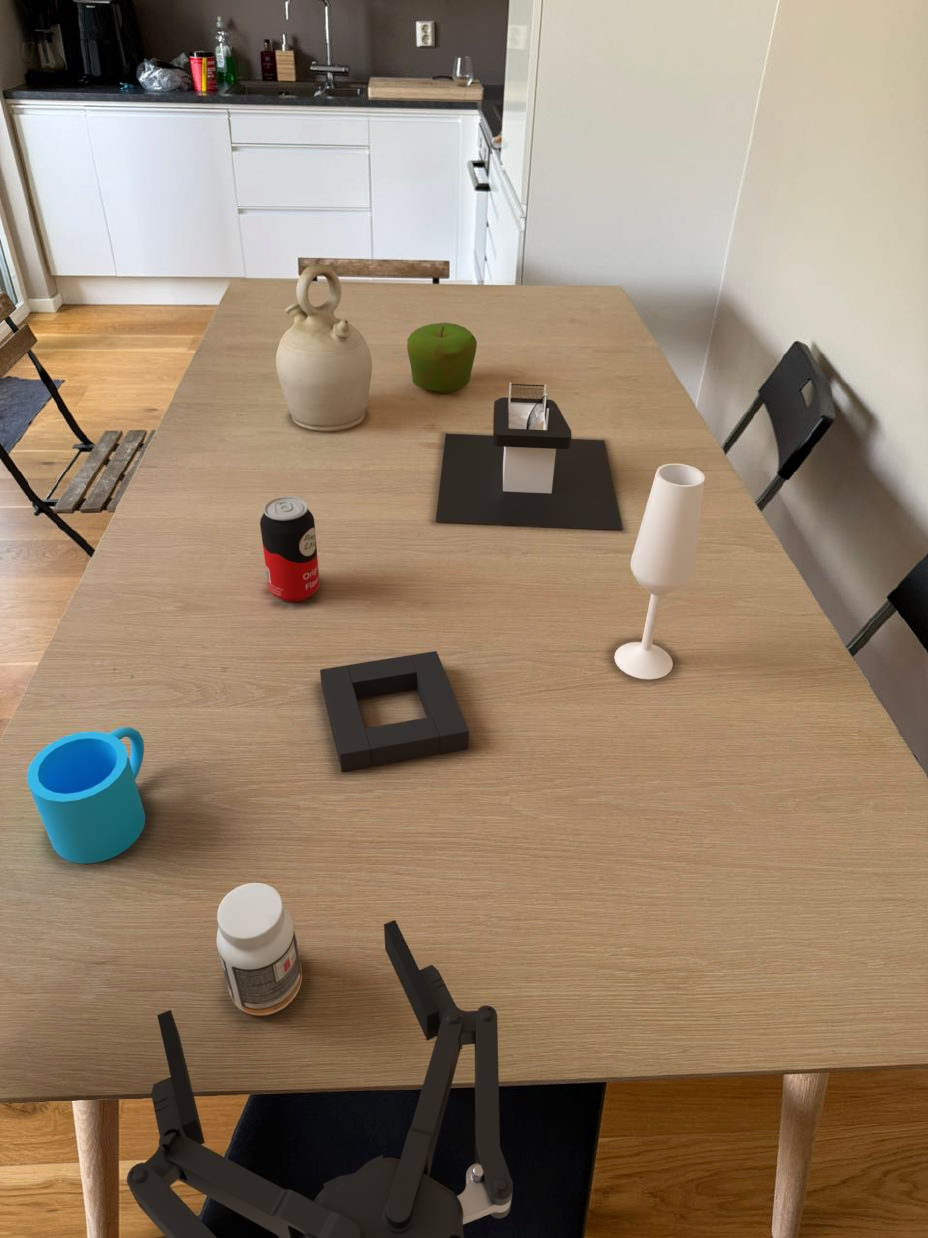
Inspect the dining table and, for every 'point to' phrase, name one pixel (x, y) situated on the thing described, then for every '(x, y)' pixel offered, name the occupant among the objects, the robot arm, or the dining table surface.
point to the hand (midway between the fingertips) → (284, 977)
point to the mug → (89, 794)
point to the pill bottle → (258, 949)
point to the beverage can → (290, 549)
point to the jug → (323, 361)
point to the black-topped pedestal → (527, 471)
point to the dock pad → (397, 739)
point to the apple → (441, 357)
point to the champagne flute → (663, 558)
